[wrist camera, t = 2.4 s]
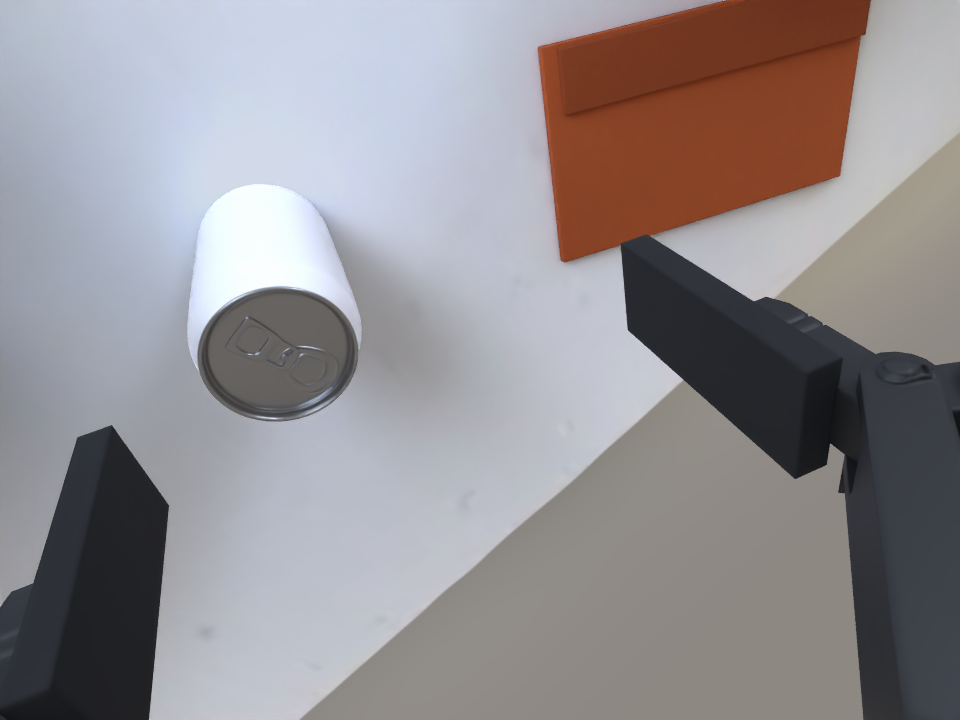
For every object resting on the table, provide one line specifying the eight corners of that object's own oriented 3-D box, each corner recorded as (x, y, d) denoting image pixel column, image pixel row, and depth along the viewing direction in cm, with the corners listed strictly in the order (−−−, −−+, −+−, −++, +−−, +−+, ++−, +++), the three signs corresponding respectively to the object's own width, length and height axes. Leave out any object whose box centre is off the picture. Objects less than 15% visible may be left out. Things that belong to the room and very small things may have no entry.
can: (285, 321, 35) (306, 454, 26) (171, 259, 32) (146, 386, 22) (354, 229, 34) (404, 332, 24) (243, 153, 31) (250, 239, 21)
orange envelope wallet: (560, 260, 39) (567, 266, 38) (537, 47, 32) (545, 48, 32) (834, 174, 43) (846, 178, 42) (864, -34, 36) (879, -35, 35)
